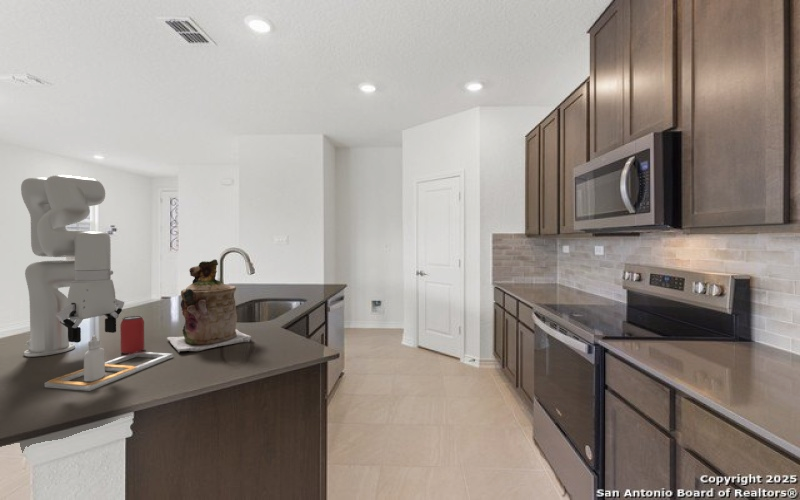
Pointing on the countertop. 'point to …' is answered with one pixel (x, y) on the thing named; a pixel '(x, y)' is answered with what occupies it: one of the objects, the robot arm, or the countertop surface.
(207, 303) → the cookie jar
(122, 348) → the beer can
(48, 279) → the robot arm
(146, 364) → the rail
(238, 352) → the countertop surface
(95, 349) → the eye dropper bottle
